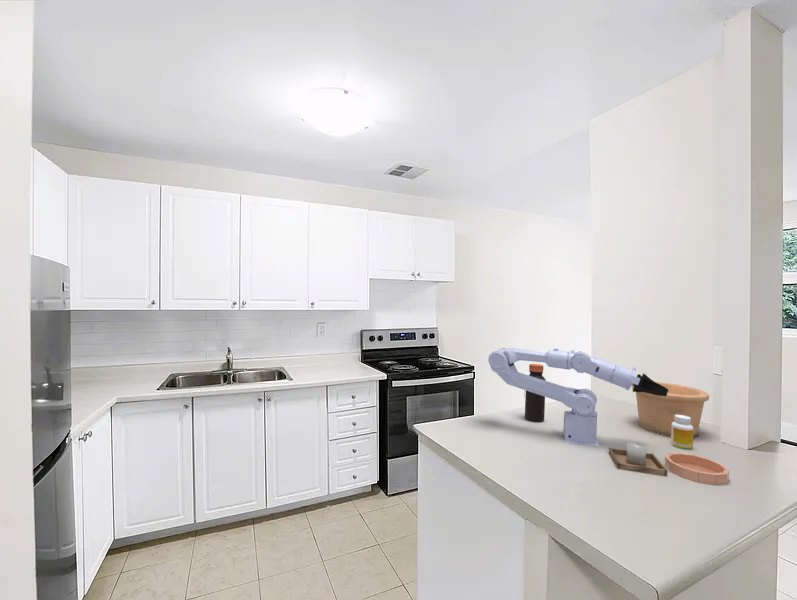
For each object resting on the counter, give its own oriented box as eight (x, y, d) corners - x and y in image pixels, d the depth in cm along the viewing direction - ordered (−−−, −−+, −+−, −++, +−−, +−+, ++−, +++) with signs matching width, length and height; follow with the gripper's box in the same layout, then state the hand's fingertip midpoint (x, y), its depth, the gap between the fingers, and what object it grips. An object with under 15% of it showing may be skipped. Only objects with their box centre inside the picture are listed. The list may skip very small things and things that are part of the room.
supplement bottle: (696, 452, 113) (697, 420, 113) (676, 450, 115) (677, 418, 114) (686, 446, 119) (687, 414, 119) (667, 444, 120) (668, 413, 120)
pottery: (635, 415, 149) (636, 378, 149) (707, 429, 135) (709, 388, 135) (625, 429, 133) (627, 388, 132) (707, 446, 119) (708, 400, 119)
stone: (628, 465, 102) (629, 446, 101) (624, 459, 106) (625, 441, 106) (647, 468, 100) (648, 449, 100) (642, 461, 104) (643, 443, 104)
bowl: (676, 481, 95) (676, 469, 95) (659, 460, 107) (659, 450, 107) (738, 490, 91) (739, 478, 91) (713, 468, 103) (714, 457, 103)
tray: (617, 470, 99) (617, 463, 99) (608, 454, 110) (608, 447, 110) (666, 478, 96) (667, 470, 96) (652, 461, 106) (653, 453, 106)
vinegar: (546, 419, 141) (548, 364, 141) (542, 423, 136) (544, 367, 135) (527, 415, 145) (529, 362, 145) (522, 420, 139) (524, 365, 139)
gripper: (619, 359, 110) (674, 379, 103) (615, 362, 122) (664, 380, 116) (610, 382, 109) (665, 403, 103) (607, 383, 122) (656, 402, 116)
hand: (664, 392), depth 109 cm, fingers open, 7 cm apart
